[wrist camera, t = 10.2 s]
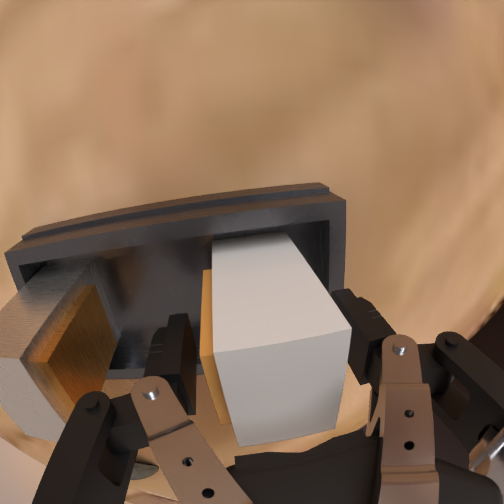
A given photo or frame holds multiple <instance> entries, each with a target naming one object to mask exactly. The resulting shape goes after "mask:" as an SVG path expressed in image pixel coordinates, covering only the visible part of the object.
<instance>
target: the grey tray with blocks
mask: <svg viewBox="0 0 504 504" xmlns="http://www.w3.org/2000/svg"><path fill="white" fill-rule="evenodd" d="M281 231H285V232H286V233H287V235H288V236H289V237H290V239H291V240H292V242H293V243H294V244H295V246H296V247H297V249H298V250H299V252H300V253H301V254H302V256H303V257H304V259H305V260H306V261H307V263H308V264H309V266H310V267H311V269H312V270H313V272H314V273H315V274H316V276H317V277H318V279H319V280H320V282H321V283H322V285H323V286H324V287H325V289H326V290H327V292H328V293H329V295H330V296H331V292H332V291H336V290H342V289H344V272H345V245H346V200H345V199H343V198H341V197H339V196H337V195H335V194H333V193H332V192H330V191H329V187H327V186H325V185H323V184H321V183H307V184H296V185H285V186H275V187H266V188H257V189H248V190H240V191H232V192H224V193H217V194H209V195H202V196H195V197H189V198H182V199H176V200H169V201H163V202H157V203H151V204H146V205H140V206H134V207H129V208H124V209H118V210H113V211H108V212H103V213H98V214H93V215H89V216H84V217H79V218H75V219H70V220H66V221H62V222H57V223H53V224H49V225H45V226H41V227H36V228H34V229H32V230H31V231H29V232H27V233H26V234H25V235H23V236H22V239H23V240H21V241H20V242H19V243H17V244H16V245H14V246H13V247H12V248H10V249H9V250H8V251H6V252H5V253H4V254H5V257H6V260H7V263H8V266H9V269H10V272H11V274H12V277H13V280H14V282H15V285H16V287H17V290H18V292H17V293H16V295H15V296H14V297H13V298H12V299H11V300H10V301H9V302H8V303H7V304H6V305H5V306H4V307H3V308H2V310H1V311H0V405H1V406H2V408H3V409H4V410H5V411H6V412H7V414H8V415H9V416H10V417H11V418H12V420H13V421H14V422H15V423H16V424H17V425H18V426H19V428H20V429H21V430H22V431H23V432H24V433H25V434H26V435H28V436H32V437H36V438H40V439H45V440H49V441H54V442H58V440H59V438H60V436H61V434H62V432H63V429H64V427H65V425H66V423H67V421H68V419H69V417H70V415H71V413H72V411H73V409H74V407H75V405H76V403H77V401H78V400H79V399H80V398H81V397H82V396H83V395H84V394H86V393H89V392H92V391H100V392H101V390H102V387H103V384H104V381H105V379H142V378H143V376H144V371H145V367H146V362H147V358H148V353H149V349H150V346H151V341H152V337H153V335H154V333H155V332H156V331H157V330H158V329H159V328H161V327H167V325H168V319H169V315H172V314H181V313H187V314H188V316H189V319H190V323H191V327H192V331H193V335H194V339H195V343H196V348H197V372H196V375H200V374H205V373H204V370H203V366H202V363H201V359H200V329H201V304H202V284H203V270H209V269H212V241H214V240H221V239H228V238H236V237H243V236H251V235H258V234H266V233H273V232H281Z"/></svg>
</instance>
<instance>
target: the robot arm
mask: <svg viewBox="0 0 504 504" xmlns="http://www.w3.org/2000/svg"><path fill="white" fill-rule="evenodd" d="M331 298H332V299H333V301H334V302H335V304H336V305H337V307H338V308H339V310H340V311H341V313H342V314H343V316H344V317H345V319H346V320H347V322H348V323H349V325H350V326H351V328H352V331H351V339H350V347H349V354H348V361H347V362H348V364H349V366H350V367H351V369H352V371H353V373H354V375H355V377H356V379H357V380H358V382H359V384H360V385H363V384H367V383H370V385H371V386H372V387H371V391H370V401H369V413H368V423H367V431H366V435H365V433H364V431H363V429H361V430H358V431H354V432H351V433H348V434H344V435H341V436H338V437H334V438H332V439H330V440H328V441H326V442H324V443H322V444H320V445H318V446H316V447H314V448H312V449H310V450H308V451H305V452H301V453H284V452H264V453H257V454H250V455H242V456H234V457H235V465H232V466H229V467H227V468H225V467H224V466H223V464H222V463H221V461H220V460H219V459H218V457H217V456H216V455H215V453H214V452H213V450H212V449H211V447H210V446H209V445H208V443H207V442H206V440H205V439H204V437H203V436H202V434H201V433H200V431H199V430H198V428H197V427H196V425H195V424H194V422H193V421H192V420H190V419H189V417H188V415H196V372H197V348H196V343H195V339H194V335H193V331H192V327H191V323H190V319H189V316H188V314H187V313H181V314H172V315H169V319H168V325H167V327H161V328H159V329H158V330H157V331H156V332H155V333H154V335H153V337H152V341H151V346H150V349H149V353H148V358H147V362H146V367H145V371H144V376H143V378H142V379H140V380H139V381H137V382H136V383H135V384H134V385H133V387H132V389H131V393H129V394H127V395H124V396H120V397H116V398H113V399H109V397H108V396H107V395H106V394H105V393H103V392H100V391H92V392H89V393H86V394H84V395H83V396H82V397H81V398H80V399H79V400H78V401H77V403H76V405H75V407H74V409H73V411H72V413H71V415H70V417H69V419H68V421H67V423H66V425H65V427H64V429H63V432H62V434H61V436H60V438H59V440H58V442H57V444H56V447H55V449H54V451H53V453H52V455H51V458H50V460H49V462H48V465H47V467H46V469H45V472H44V474H43V477H42V479H41V481H40V484H39V486H38V489H37V492H36V494H35V497H34V499H33V502H32V504H124V501H125V497H126V493H127V489H128V486H129V482H130V478H131V474H132V471H133V467H134V464H135V460H136V456H137V453H138V449H141V448H144V447H148V446H150V447H151V450H152V452H153V454H154V456H155V458H156V460H157V462H158V464H159V466H160V468H161V470H162V472H163V473H164V475H165V477H166V479H167V481H168V483H169V485H170V486H171V488H172V490H173V492H174V493H175V495H176V497H177V499H178V500H179V502H180V504H503V497H502V495H503V494H504V371H502V369H501V368H499V367H498V366H497V365H496V364H495V363H494V362H492V361H491V360H490V359H489V358H488V357H487V356H485V355H484V354H483V353H482V352H481V351H479V350H478V349H477V348H476V347H475V346H474V345H472V344H471V343H470V342H469V341H467V340H466V339H465V338H464V337H463V336H461V335H460V334H458V333H455V332H448V331H447V332H442V333H440V334H439V335H438V336H437V338H436V341H435V343H433V344H416V342H415V341H414V340H413V339H412V338H410V337H408V336H406V335H401V334H396V332H395V331H394V330H393V329H392V328H391V326H390V325H389V324H388V323H387V321H386V320H385V319H384V318H383V317H382V316H381V314H380V313H379V312H378V311H376V308H375V307H374V306H373V305H372V303H371V302H369V301H367V300H366V299H364V298H362V297H359V298H357V297H356V296H355V295H354V294H353V293H352V291H351V290H350V289H349V288H347V289H342V290H336V291H332V292H331ZM454 377H455V378H456V379H457V380H458V381H459V382H460V383H461V384H462V385H464V387H465V388H467V390H468V391H469V394H470V399H469V398H468V397H467V396H466V395H465V394H464V393H463V392H462V391H461V390H460V389H459V388H458V387H457V386H456V385H455V384H454V383H452V380H453V378H454ZM432 410H433V411H434V412H435V414H436V415H437V416H438V417H439V418H440V419H441V421H442V422H443V423H444V424H445V425H446V426H447V427H448V429H449V430H450V431H451V432H452V433H453V434H454V436H455V437H456V438H457V439H458V440H459V441H460V442H461V444H462V445H463V446H464V447H465V448H466V450H467V451H468V452H469V453H470V465H469V470H467V469H464V468H462V467H459V466H456V465H454V464H451V463H449V462H446V461H443V460H441V459H438V458H436V457H435V455H434V454H435V453H434V452H435V451H434V429H433V414H432Z"/></svg>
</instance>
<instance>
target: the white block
mask: <svg viewBox="0 0 504 504" xmlns="http://www.w3.org/2000/svg"><path fill="white" fill-rule="evenodd" d="M351 331H352V328H351V326H350V325H349V323H348V322H347V320H346V319H345V317H344V316H343V314H342V313H341V311H340V310H339V308H338V307H337V305H336V304H335V302H334V301H333V299H332V298H331V296H330V295H329V293H328V292H327V290H326V289H325V287H324V286H323V285H322V283H321V282H320V280H319V279H318V277H317V276H316V274H315V273H314V272H313V270H312V269H311V267H310V266H309V264H308V263H307V261H306V260H305V259H304V257H303V256H302V254H301V253H300V252H299V250H298V249H297V247H296V246H295V244H294V243H293V242H292V240H291V239H290V237H289V236H288V235H287V233H286V232H285V231H281V232H273V233H266V234H258V235H251V236H243V237H236V238H228V239H221V240H214V241H212V269H209V270H203V284H202V304H201V329H200V359H201V363H202V366H203V370H204V373H205V376H206V380H207V383H208V386H209V390H210V393H211V396H212V399H213V402H214V405H215V408H216V411H217V414H218V417H219V420H220V423H221V425H225V424H232V425H233V429H234V432H235V435H236V439H237V442H238V445H239V447H245V446H253V445H260V444H266V443H272V442H278V441H283V440H288V439H293V438H298V437H303V436H307V435H311V434H316V433H320V432H324V431H328V430H331V429H335V426H336V422H337V417H338V412H339V407H340V402H341V397H342V391H343V386H344V380H345V374H346V367H347V361H348V354H349V347H350V339H351Z"/></svg>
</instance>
